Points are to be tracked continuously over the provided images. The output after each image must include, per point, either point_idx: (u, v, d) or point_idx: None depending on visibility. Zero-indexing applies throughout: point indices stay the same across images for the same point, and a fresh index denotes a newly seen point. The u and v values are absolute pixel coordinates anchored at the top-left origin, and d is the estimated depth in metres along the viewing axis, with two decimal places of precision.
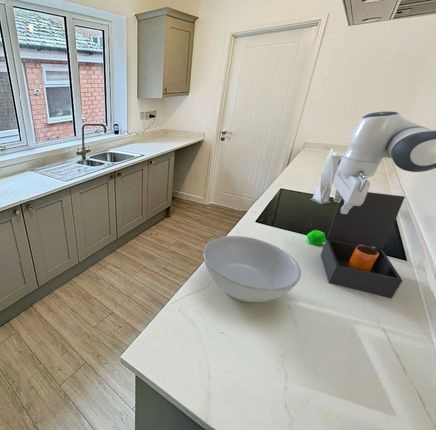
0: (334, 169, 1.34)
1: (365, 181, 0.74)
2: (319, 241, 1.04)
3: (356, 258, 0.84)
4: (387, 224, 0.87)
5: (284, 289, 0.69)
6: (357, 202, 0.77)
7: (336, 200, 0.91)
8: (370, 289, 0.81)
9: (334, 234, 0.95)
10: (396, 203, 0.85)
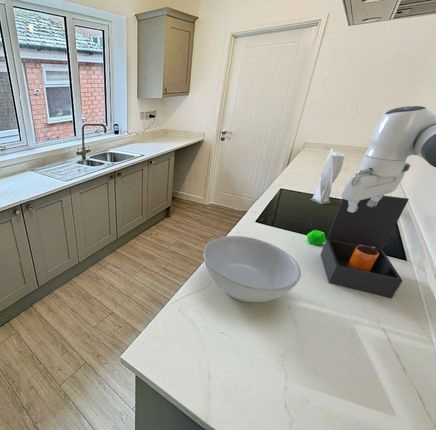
0: (334, 169, 1.34)
1: (355, 175, 0.74)
2: (319, 241, 1.04)
3: (356, 258, 0.84)
4: (388, 226, 0.86)
5: (284, 289, 0.69)
6: (348, 197, 0.77)
7: (369, 204, 0.84)
8: (370, 289, 0.81)
9: (334, 234, 0.94)
10: (399, 205, 0.83)
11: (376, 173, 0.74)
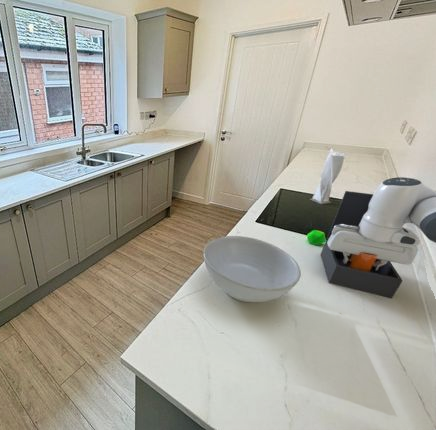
0: (334, 169, 1.34)
1: (335, 226, 0.84)
2: (319, 241, 1.04)
3: (356, 258, 0.84)
4: None
5: (284, 289, 0.69)
6: (328, 244, 0.87)
7: None
8: (370, 289, 0.81)
9: None
10: None
11: (360, 232, 0.80)
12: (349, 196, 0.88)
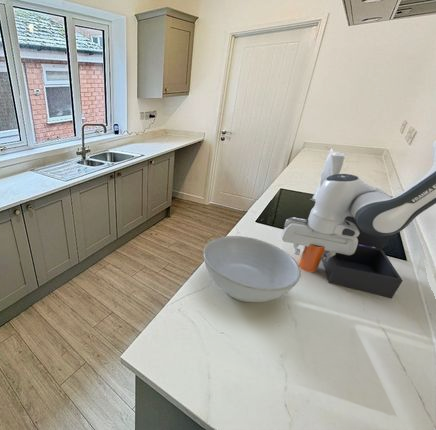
0: (334, 169, 1.34)
1: (287, 219, 0.90)
2: None
3: (306, 250, 0.90)
4: None
5: (284, 289, 0.69)
6: (281, 236, 0.93)
7: (322, 257, 0.90)
8: (370, 289, 0.81)
9: None
10: None
11: (308, 225, 0.86)
12: None
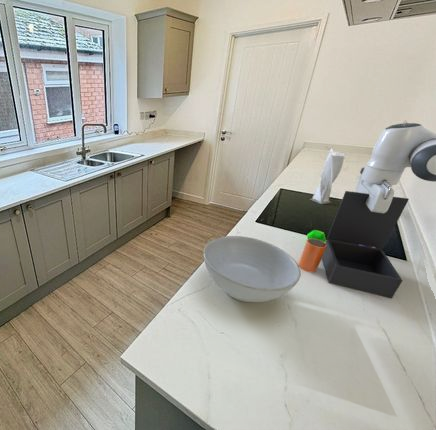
0: (334, 169, 1.34)
1: (389, 190, 0.77)
2: None
3: (306, 250, 0.90)
4: (388, 226, 0.86)
5: (284, 289, 0.69)
6: (381, 210, 0.80)
7: None
8: (370, 289, 0.81)
9: (334, 234, 0.94)
10: (399, 205, 0.83)
11: (390, 183, 0.81)
12: (349, 196, 0.88)
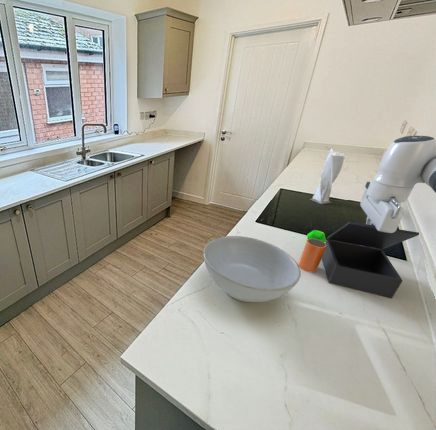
0: (334, 169, 1.34)
1: (399, 208, 0.71)
2: None
3: (306, 250, 0.90)
4: (392, 242, 0.83)
5: (284, 289, 0.69)
6: (389, 230, 0.74)
7: None
8: (370, 289, 0.81)
9: (334, 238, 0.94)
10: (407, 236, 0.76)
11: (398, 201, 0.75)
12: (352, 226, 0.81)
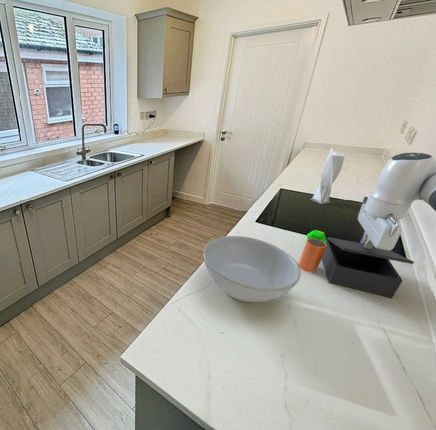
0: (334, 169, 1.34)
1: (396, 226, 0.70)
2: None
3: (306, 250, 0.90)
4: None
5: (284, 289, 0.69)
6: (387, 247, 0.73)
7: None
8: (370, 289, 0.81)
9: None
10: None
11: (396, 218, 0.74)
12: None
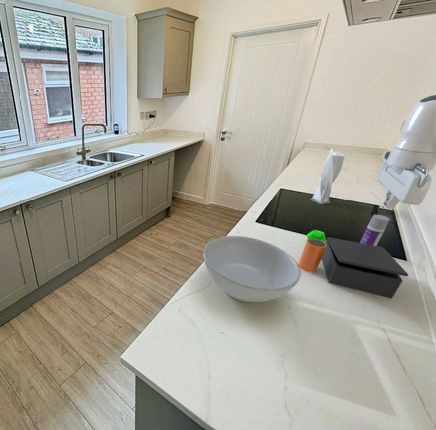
0: (334, 169, 1.34)
1: (427, 175, 0.63)
2: None
3: (306, 250, 0.90)
4: None
5: (284, 289, 0.69)
6: (415, 200, 0.66)
7: None
8: (370, 289, 0.81)
9: None
10: None
11: None
12: None
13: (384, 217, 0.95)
